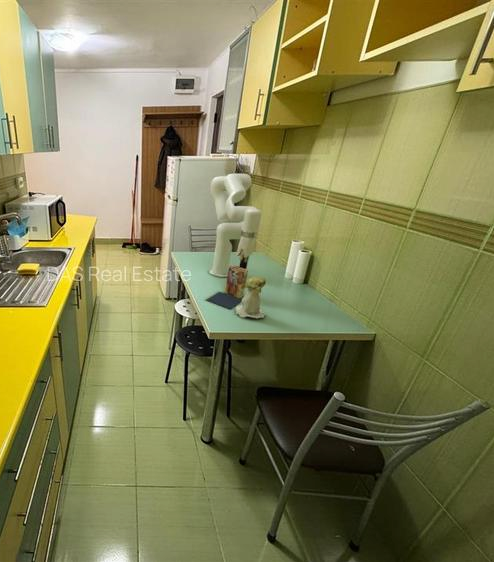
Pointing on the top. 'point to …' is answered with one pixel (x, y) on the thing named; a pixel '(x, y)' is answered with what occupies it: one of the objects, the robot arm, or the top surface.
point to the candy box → (236, 281)
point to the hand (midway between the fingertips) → (242, 268)
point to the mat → (224, 300)
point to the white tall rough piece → (252, 299)
